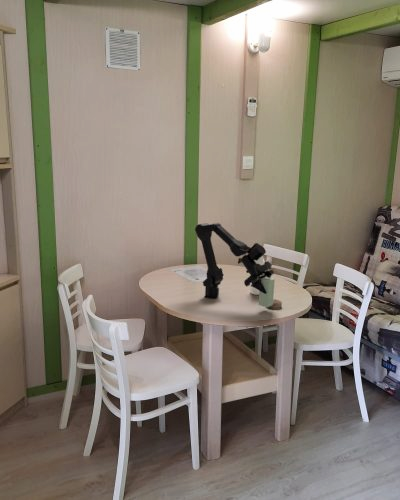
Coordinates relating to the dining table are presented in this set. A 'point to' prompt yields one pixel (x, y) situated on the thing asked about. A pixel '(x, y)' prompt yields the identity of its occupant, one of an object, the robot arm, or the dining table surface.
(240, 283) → the dining table surface
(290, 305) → the dining table surface
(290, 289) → the dining table surface
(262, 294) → the sage post
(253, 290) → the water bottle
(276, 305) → the walnut plinth
